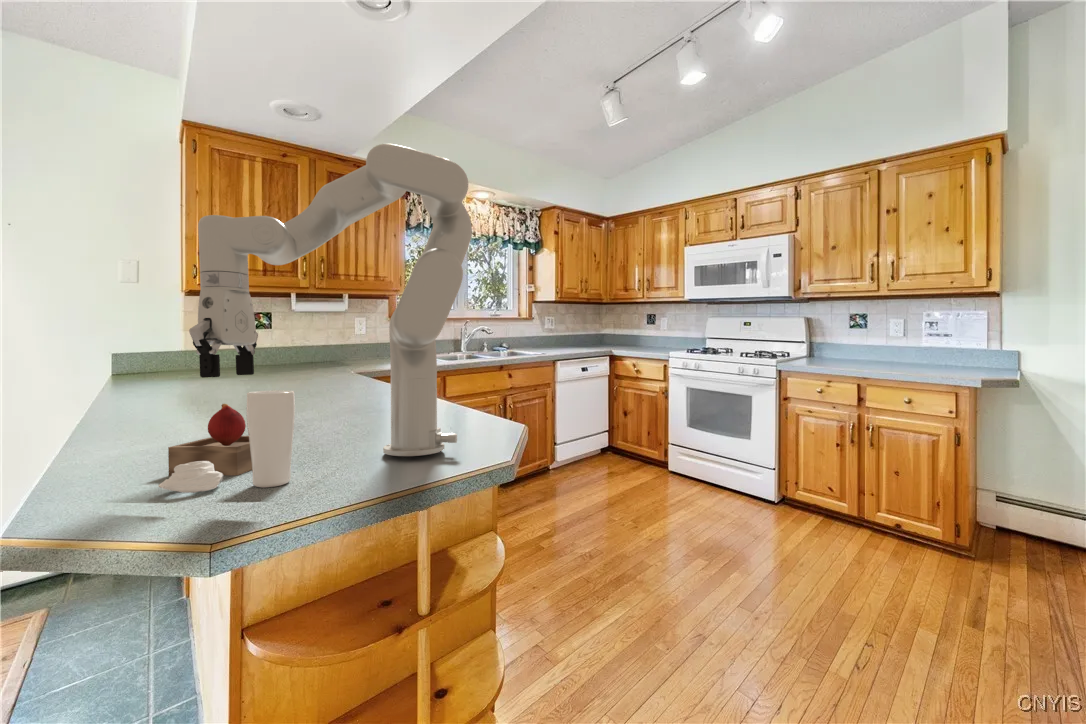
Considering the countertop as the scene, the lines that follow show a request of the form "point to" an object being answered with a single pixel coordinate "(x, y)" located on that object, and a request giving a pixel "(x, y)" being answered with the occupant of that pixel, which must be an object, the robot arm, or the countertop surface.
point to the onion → (226, 425)
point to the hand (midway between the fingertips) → (228, 376)
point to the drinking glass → (271, 436)
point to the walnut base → (213, 455)
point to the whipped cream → (193, 477)
